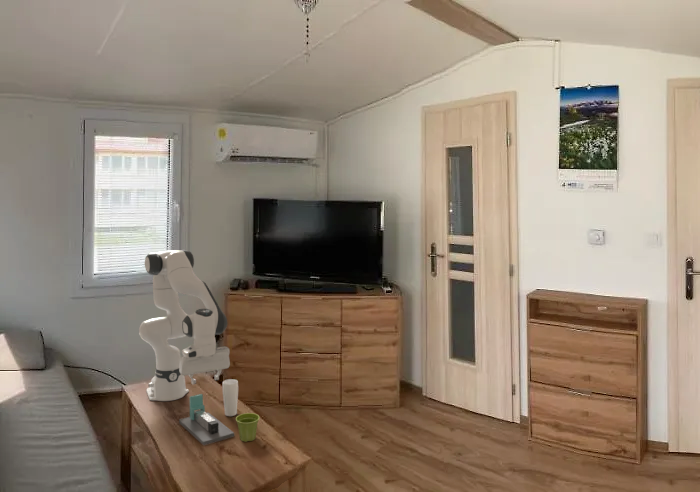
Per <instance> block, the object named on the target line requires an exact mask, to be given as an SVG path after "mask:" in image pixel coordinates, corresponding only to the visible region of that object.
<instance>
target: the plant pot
mask: <svg viewBox="0 0 700 492" xmlns="http://www.w3.org/2000/svg"><path fill="white" fill-rule="evenodd" d="M259 420H260V415H259V414H257V413H253V412H246V413H241V414H239V415H237V416H236V417H235V422H236V424H237V429H238V434H239V439H240V441H242V442H244V443H247V442H253V441H254V440H255V439H256V435H257V428H258V423H259Z"/></svg>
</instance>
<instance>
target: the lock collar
mask: <svg viewBox="0 0 700 492" xmlns="http://www.w3.org/2000/svg"><path fill="white" fill-rule="evenodd" d="M203 395H204V394H203V393H199V394H196V395H191V396H189V398H188V399H189V417H190V419H191V420H194V411H198V410H200V411H201V410H203V411H204V412H206V409H205V407H206V406H205V405H204V396H203Z"/></svg>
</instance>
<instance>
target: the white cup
mask: <svg viewBox="0 0 700 492" xmlns="http://www.w3.org/2000/svg"><path fill="white" fill-rule="evenodd" d="M222 397H223V406H224V415H225V416H226V417H233V416H234V417H235V416H236V415H238V401H239V400H238V398H239V381H238V380H237V379H234V378H233V379H232V378H229V379H225V380H223V381H222Z"/></svg>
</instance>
